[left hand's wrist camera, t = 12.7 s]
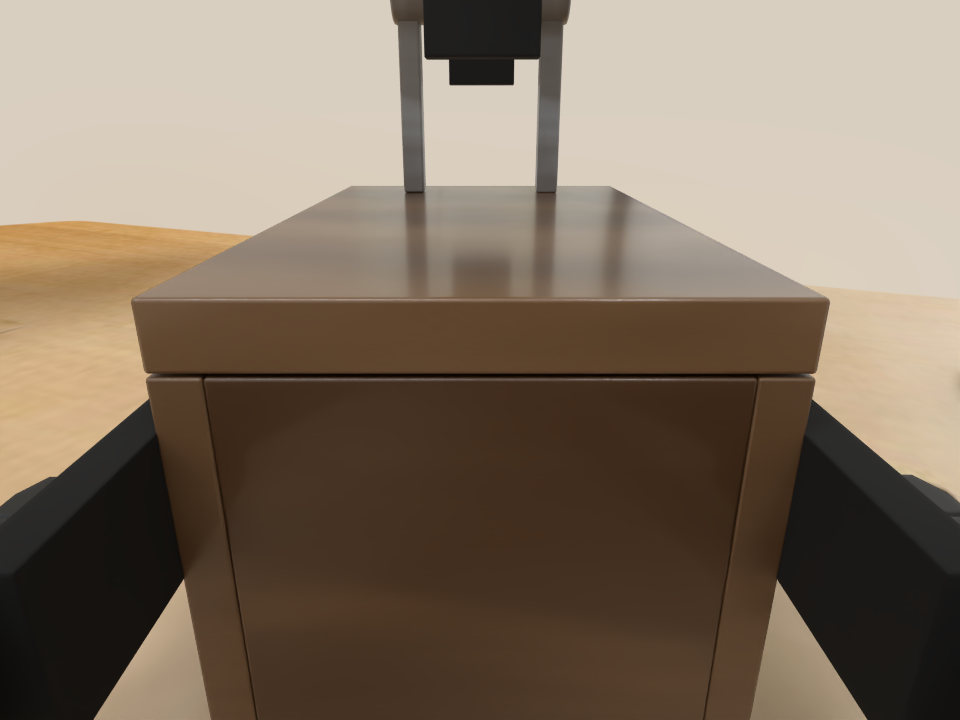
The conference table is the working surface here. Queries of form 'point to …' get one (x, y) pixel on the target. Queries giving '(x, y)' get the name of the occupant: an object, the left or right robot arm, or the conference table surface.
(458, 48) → the right robot arm
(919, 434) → the conference table surface
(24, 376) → the conference table surface
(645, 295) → the lid
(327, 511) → the chest
